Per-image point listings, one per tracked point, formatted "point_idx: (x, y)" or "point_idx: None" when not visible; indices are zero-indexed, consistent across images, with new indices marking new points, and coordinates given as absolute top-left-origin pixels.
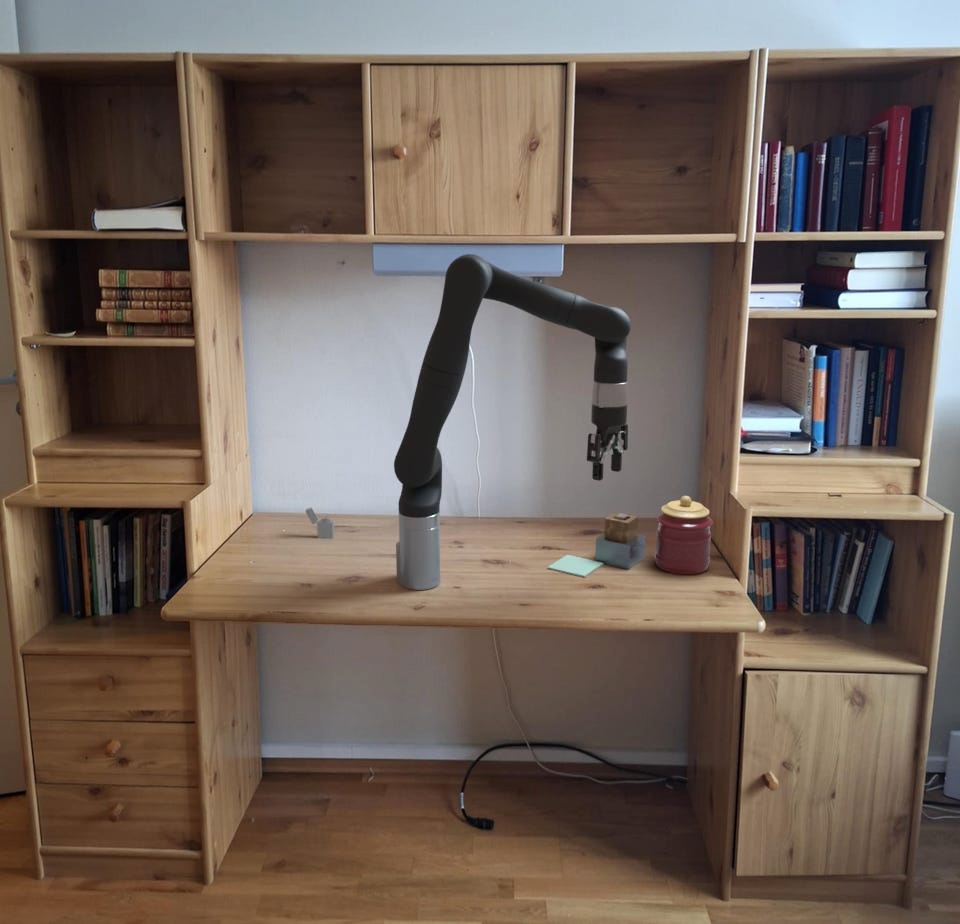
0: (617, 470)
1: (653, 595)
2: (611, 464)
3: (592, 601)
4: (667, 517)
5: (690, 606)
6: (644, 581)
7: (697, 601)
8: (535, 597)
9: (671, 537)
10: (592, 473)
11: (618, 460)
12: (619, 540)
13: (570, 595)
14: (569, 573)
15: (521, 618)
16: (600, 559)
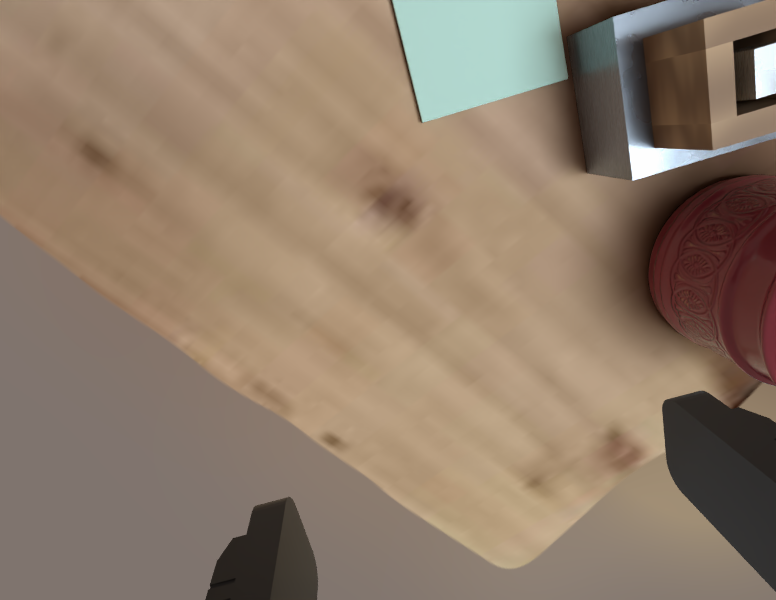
0: (673, 464)
1: (470, 353)
2: (708, 432)
3: (299, 276)
4: None
5: (481, 451)
6: (537, 271)
7: (521, 442)
8: (166, 136)
9: (731, 313)
10: (244, 543)
11: (758, 557)
12: (652, 112)
13: (275, 200)
14: (406, 58)
15: (28, 229)
16: (575, 57)
